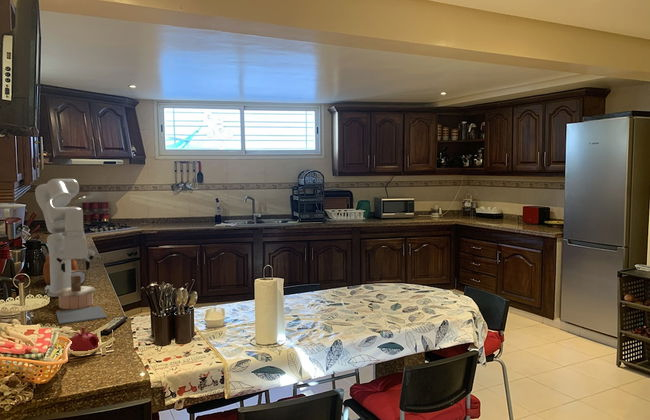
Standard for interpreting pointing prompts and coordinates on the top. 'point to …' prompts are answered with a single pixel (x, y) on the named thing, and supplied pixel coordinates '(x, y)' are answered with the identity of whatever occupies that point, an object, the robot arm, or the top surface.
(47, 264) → the bread
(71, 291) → the lid
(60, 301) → the bowl
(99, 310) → the mat
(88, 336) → the pomegranate
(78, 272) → the tin
